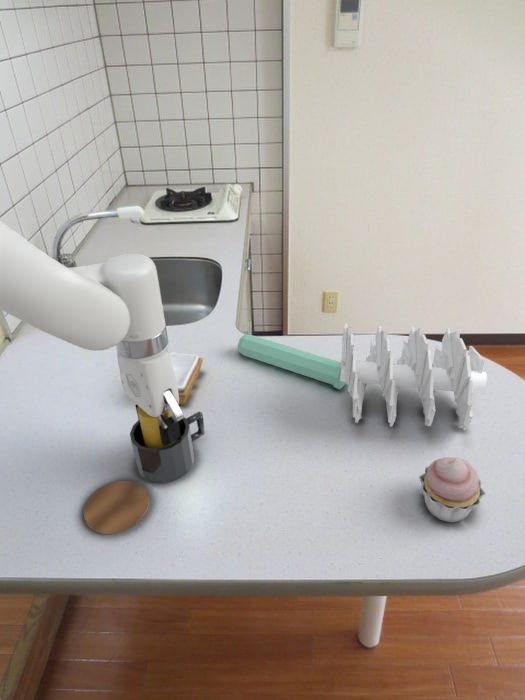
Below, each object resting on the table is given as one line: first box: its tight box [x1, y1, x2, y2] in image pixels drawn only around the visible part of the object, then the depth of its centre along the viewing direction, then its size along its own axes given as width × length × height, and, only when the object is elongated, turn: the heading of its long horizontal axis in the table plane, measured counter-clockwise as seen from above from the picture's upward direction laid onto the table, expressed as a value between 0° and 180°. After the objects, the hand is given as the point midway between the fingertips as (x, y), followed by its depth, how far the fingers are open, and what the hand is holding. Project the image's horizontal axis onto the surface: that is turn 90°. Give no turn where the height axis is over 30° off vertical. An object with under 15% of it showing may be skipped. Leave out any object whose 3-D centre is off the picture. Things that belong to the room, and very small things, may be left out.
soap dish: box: [168, 351, 204, 406], centre depth 106 cm, size 12×10×5 cm
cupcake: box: [418, 456, 486, 523], centre depth 78 cm, size 9×9×10 cm
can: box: [136, 403, 179, 449], centre depth 87 cm, size 6×6×12 cm
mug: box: [129, 411, 206, 484], centre depth 89 cm, size 13×10×8 cm
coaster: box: [83, 480, 150, 535], centre depth 83 cm, size 10×10×1 cm
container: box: [237, 333, 346, 390], centre depth 110 cm, size 6×6×25 cm
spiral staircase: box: [340, 322, 488, 431], centre depth 93 cm, size 18×18×25 cm
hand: (159, 429), depth 86 cm, fingers open, 6 cm apart
